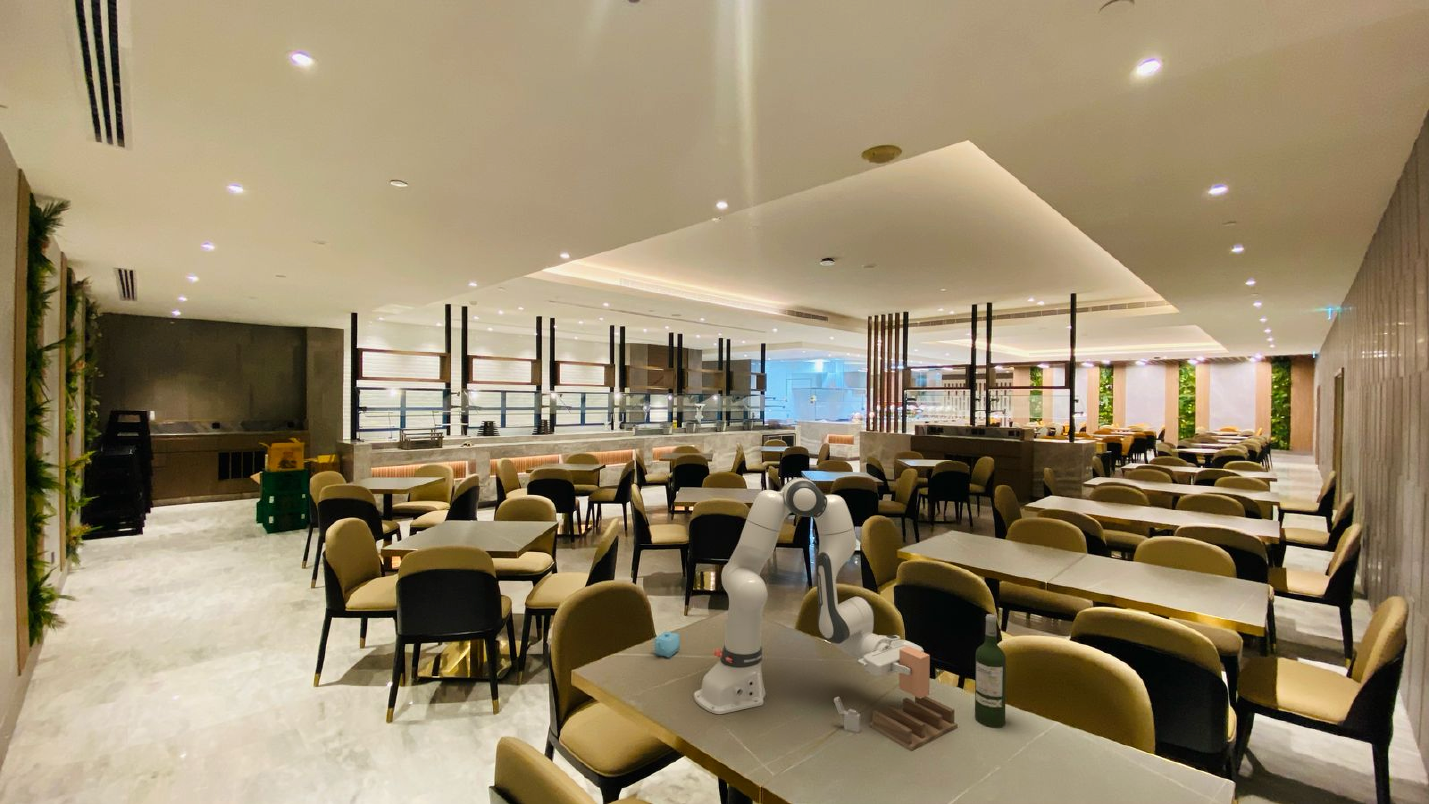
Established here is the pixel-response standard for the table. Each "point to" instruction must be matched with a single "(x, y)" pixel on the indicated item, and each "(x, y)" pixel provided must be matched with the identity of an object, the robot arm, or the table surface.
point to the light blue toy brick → (667, 644)
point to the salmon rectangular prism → (915, 672)
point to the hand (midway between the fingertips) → (917, 669)
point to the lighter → (848, 716)
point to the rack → (915, 722)
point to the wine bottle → (990, 679)
